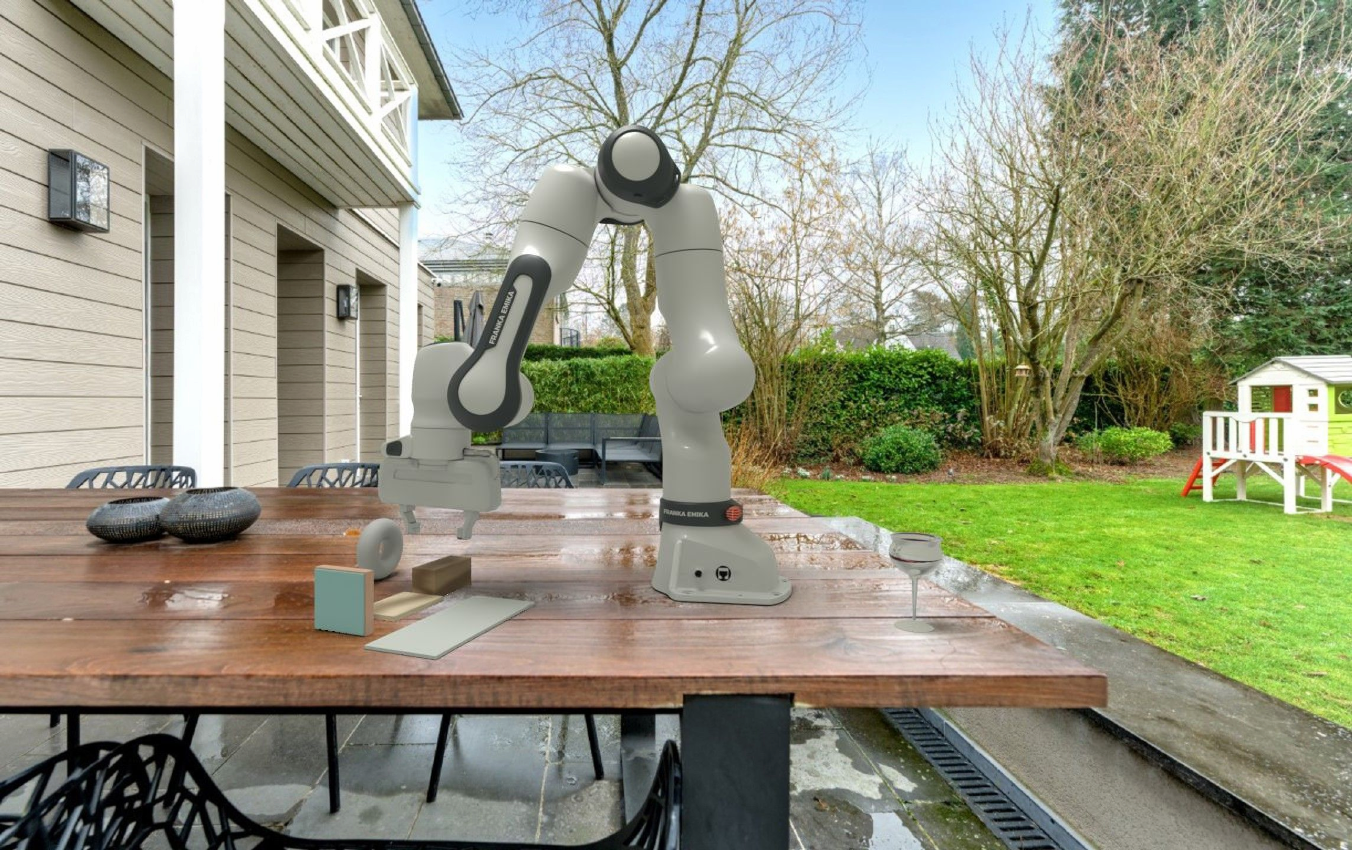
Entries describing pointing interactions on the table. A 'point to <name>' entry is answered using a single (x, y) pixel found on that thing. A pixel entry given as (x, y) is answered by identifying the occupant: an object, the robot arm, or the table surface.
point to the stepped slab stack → (426, 587)
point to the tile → (344, 599)
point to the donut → (370, 546)
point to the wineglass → (915, 566)
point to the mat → (450, 627)
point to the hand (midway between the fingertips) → (438, 536)
